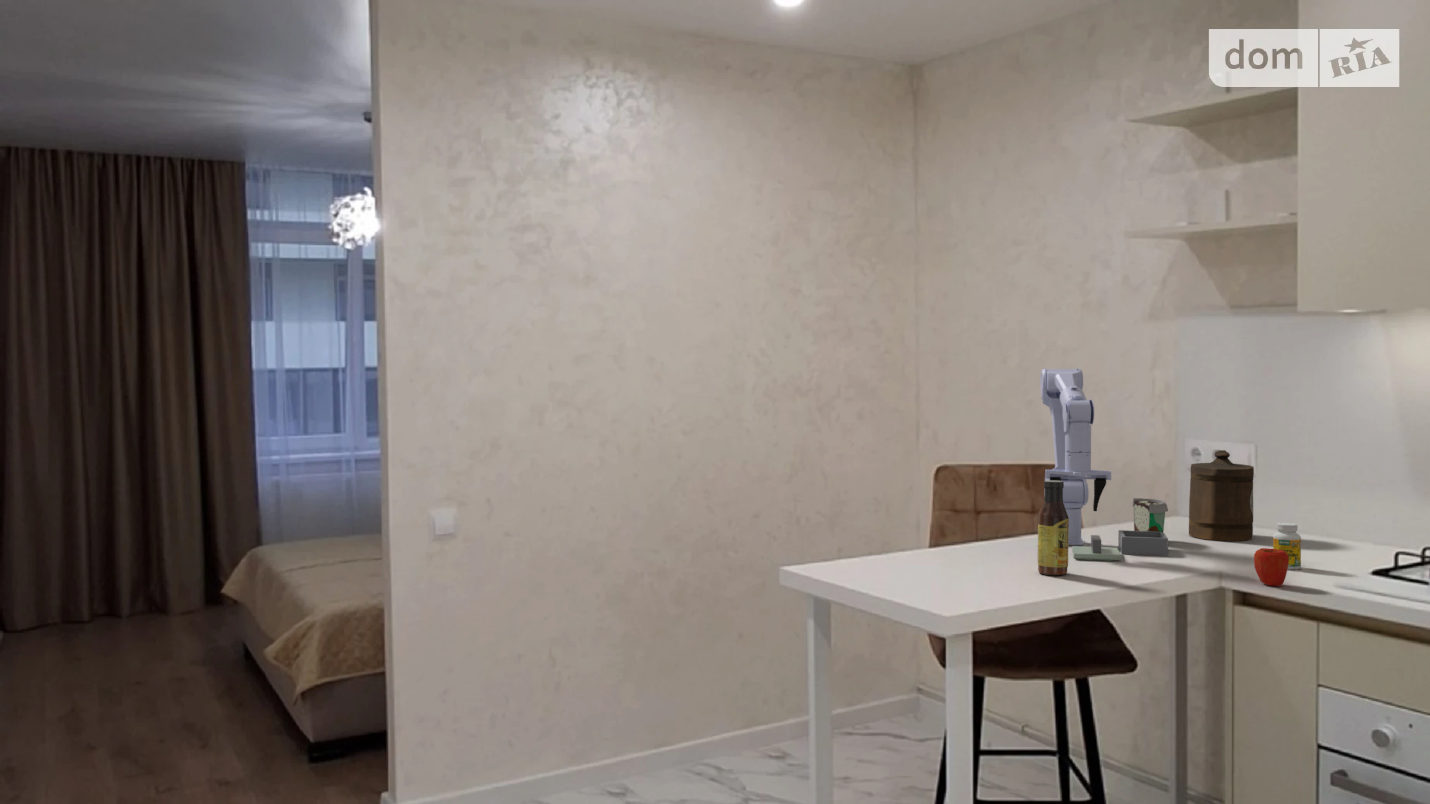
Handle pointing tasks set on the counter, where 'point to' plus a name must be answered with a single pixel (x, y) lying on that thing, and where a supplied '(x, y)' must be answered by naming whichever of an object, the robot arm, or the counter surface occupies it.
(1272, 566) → the apple
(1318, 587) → the counter surface
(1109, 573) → the counter surface
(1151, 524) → the food container
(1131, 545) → the tub
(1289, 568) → the supplement bottle
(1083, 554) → the lid
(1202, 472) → the wooden container
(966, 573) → the counter surface
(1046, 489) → the sauce bottle
